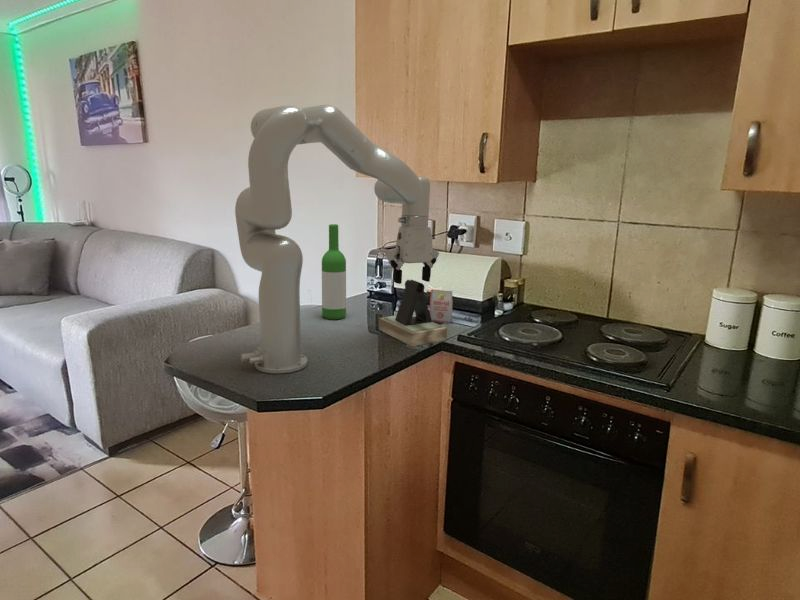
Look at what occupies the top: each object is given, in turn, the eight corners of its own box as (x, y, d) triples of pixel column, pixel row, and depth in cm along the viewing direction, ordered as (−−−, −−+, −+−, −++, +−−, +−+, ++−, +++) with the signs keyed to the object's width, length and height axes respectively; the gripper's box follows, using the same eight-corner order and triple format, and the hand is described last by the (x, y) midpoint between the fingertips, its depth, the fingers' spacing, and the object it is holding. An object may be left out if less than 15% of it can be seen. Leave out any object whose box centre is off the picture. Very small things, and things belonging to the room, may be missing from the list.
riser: (411, 346, 146) (411, 332, 145) (379, 329, 161) (379, 316, 160) (446, 340, 152) (447, 326, 151) (412, 324, 167) (412, 312, 166)
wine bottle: (317, 316, 174) (316, 224, 167) (338, 312, 179) (338, 223, 172) (329, 321, 168) (328, 226, 161) (350, 318, 173) (350, 225, 166)
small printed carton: (431, 317, 175) (432, 288, 173) (451, 319, 174) (453, 289, 171) (429, 320, 172) (430, 290, 170) (449, 322, 170) (451, 292, 168)
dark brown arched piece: (421, 317, 160) (422, 278, 158) (431, 322, 155) (433, 282, 153) (395, 320, 156) (395, 280, 153) (405, 325, 151) (406, 284, 148)
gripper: (395, 223, 141) (392, 286, 145) (447, 223, 150) (443, 282, 154) (381, 220, 147) (379, 281, 151) (432, 220, 156) (429, 278, 160)
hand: (411, 281), depth 152 cm, fingers open, 9 cm apart
